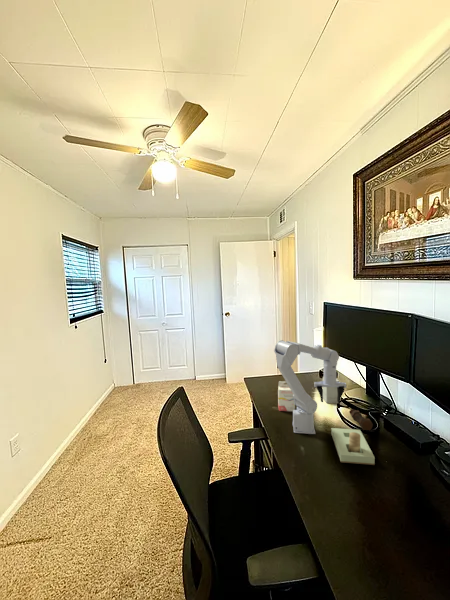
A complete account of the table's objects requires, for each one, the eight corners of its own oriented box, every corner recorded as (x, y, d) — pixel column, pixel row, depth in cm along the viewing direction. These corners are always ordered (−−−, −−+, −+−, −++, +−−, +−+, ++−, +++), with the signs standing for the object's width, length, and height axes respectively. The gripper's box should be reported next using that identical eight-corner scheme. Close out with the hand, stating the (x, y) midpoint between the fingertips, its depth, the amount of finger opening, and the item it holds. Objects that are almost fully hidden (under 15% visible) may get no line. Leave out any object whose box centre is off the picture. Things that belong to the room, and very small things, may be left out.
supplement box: (339, 403, 165) (339, 381, 163) (326, 403, 165) (326, 381, 164) (335, 397, 172) (335, 376, 171) (322, 397, 172) (322, 376, 171)
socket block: (340, 462, 113) (340, 454, 113) (331, 434, 133) (331, 428, 133) (374, 464, 111) (374, 457, 111) (359, 436, 131) (360, 429, 131)
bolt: (353, 418, 151) (368, 433, 136) (345, 414, 150) (359, 428, 135) (359, 408, 150) (374, 422, 135) (350, 404, 150) (365, 417, 135)
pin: (348, 455, 116) (348, 436, 116) (349, 450, 120) (349, 431, 119) (359, 458, 115) (360, 438, 114) (360, 452, 118) (360, 433, 117)
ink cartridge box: (278, 411, 157) (278, 384, 156) (278, 407, 162) (277, 380, 161) (295, 411, 156) (295, 384, 155) (294, 407, 161) (293, 381, 160)
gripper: (344, 371, 144) (344, 398, 146) (313, 371, 147) (313, 397, 148) (347, 376, 137) (347, 404, 139) (314, 376, 140) (315, 403, 141)
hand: (330, 401), depth 143 cm, fingers open, 7 cm apart
